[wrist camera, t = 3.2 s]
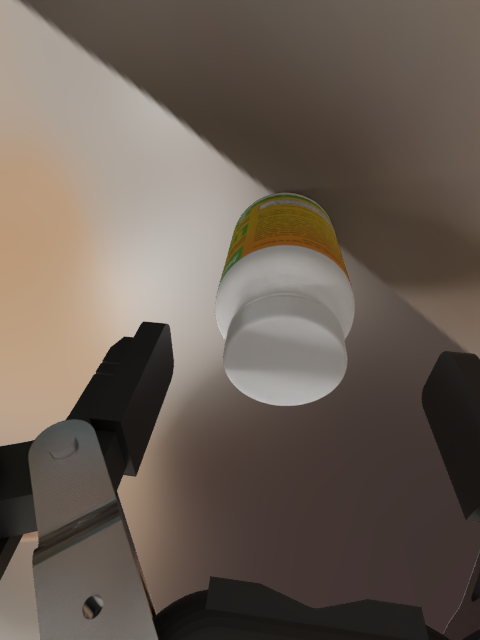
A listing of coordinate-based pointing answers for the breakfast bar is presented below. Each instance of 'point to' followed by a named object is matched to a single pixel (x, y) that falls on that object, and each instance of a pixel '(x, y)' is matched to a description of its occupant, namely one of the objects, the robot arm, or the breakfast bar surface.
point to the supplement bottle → (285, 302)
